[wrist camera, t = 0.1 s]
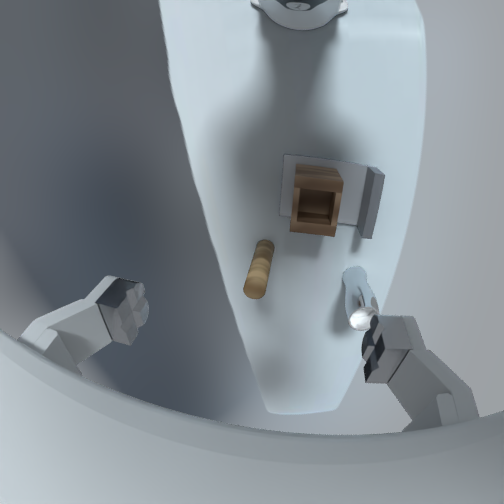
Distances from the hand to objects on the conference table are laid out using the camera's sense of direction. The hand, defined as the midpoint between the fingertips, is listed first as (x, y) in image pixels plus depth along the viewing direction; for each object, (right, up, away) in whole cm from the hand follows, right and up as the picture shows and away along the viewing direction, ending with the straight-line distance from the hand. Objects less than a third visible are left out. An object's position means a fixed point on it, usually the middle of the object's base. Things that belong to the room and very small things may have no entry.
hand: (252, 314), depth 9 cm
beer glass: (+25, -4, +54) cm, 59 cm away
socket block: (+12, +14, +44) cm, 48 cm away
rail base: (+15, +15, +45) cm, 50 cm away
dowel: (+3, +3, +54) cm, 54 cm away
